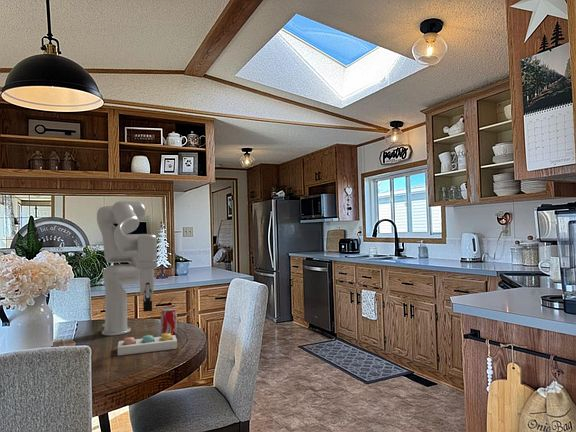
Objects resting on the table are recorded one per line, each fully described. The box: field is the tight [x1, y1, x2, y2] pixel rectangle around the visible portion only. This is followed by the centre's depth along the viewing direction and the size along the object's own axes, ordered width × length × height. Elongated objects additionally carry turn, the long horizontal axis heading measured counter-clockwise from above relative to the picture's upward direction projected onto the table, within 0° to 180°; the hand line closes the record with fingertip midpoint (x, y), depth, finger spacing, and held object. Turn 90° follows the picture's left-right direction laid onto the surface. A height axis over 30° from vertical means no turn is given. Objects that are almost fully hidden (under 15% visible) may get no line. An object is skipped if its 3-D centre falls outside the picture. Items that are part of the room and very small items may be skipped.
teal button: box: [142, 334, 154, 343], centre depth 161 cm, size 4×4×3 cm
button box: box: [117, 335, 178, 356], centre depth 161 cm, size 22×10×3 cm, turn 110°
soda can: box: [160, 307, 178, 336], centre depth 180 cm, size 7×7×12 cm
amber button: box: [160, 333, 171, 341], centre depth 164 cm, size 4×4×3 cm
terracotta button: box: [123, 336, 135, 345], centre depth 159 cm, size 4×4×3 cm
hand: (147, 309), depth 162 cm, fingers open, 6 cm apart
